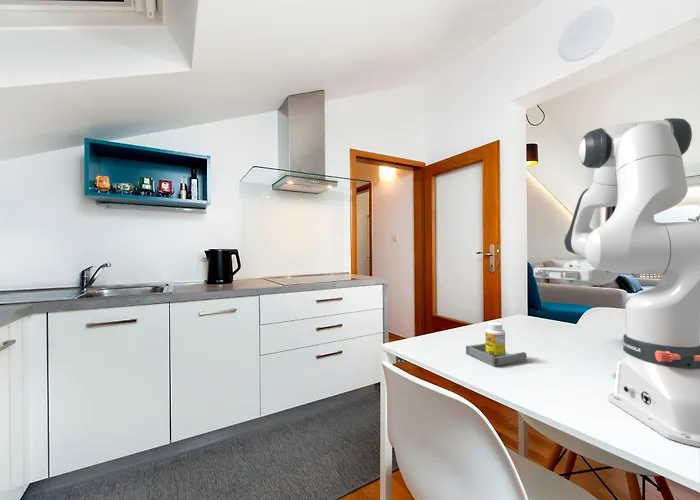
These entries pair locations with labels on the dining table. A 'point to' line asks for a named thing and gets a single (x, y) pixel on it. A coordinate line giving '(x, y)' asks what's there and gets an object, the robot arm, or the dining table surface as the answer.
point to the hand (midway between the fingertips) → (548, 274)
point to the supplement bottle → (495, 339)
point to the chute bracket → (506, 359)
